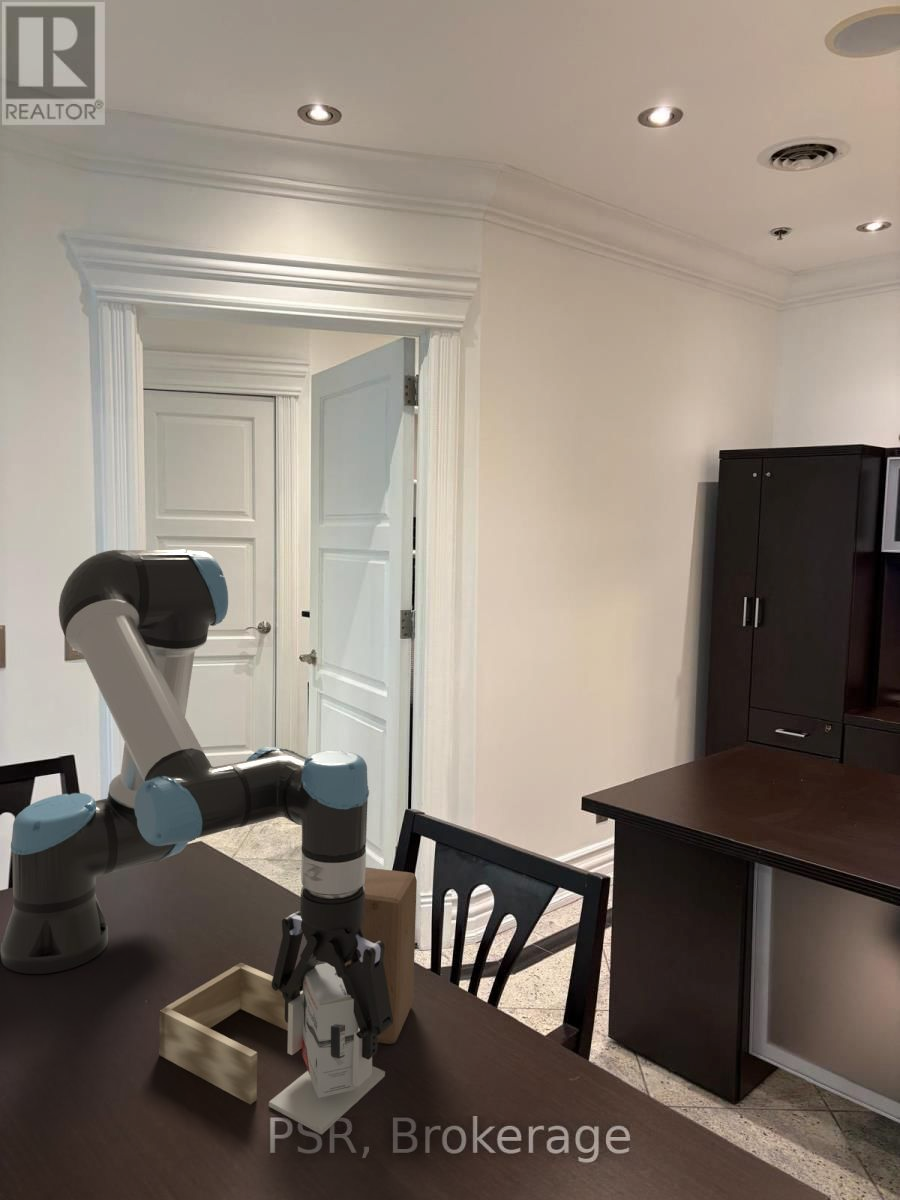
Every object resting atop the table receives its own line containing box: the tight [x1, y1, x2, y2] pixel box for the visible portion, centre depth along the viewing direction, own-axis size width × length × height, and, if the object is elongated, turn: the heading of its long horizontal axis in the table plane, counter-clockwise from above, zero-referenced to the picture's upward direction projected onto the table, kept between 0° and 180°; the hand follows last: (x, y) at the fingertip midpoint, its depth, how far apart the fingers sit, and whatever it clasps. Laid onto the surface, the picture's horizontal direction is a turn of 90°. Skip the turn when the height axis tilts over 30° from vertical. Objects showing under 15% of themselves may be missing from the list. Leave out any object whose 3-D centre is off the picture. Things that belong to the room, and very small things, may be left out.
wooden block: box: [345, 866, 418, 1045], centre depth 115 cm, size 10×10×20 cm
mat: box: [268, 1065, 386, 1136], centre depth 101 cm, size 8×12×1 cm, turn 148°
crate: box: [158, 962, 303, 1105], centre depth 108 cm, size 16×14×6 cm
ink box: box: [301, 962, 358, 1098], centre depth 100 cm, size 8×5×12 cm, turn 23°
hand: (328, 1063), depth 101 cm, fingers closed on ink box, 9 cm apart
